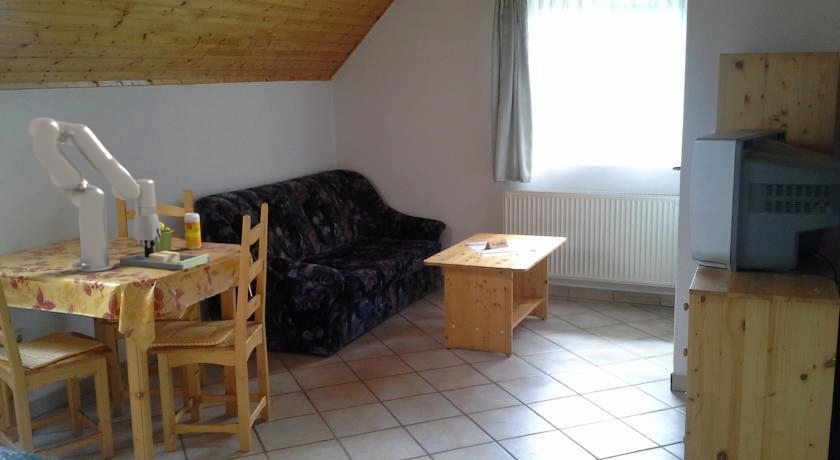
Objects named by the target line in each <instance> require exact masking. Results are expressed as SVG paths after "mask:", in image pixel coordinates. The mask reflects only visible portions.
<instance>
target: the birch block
mask: <svg viewBox="0 0 840 460" xmlns="http://www.w3.org/2000/svg"><path fill="white" fill-rule="evenodd" d="M180 254H181V253H180V252H177V251H171V250H170V251H162V252H158V253H153V254H149V260H148V261H155V262H165V263H175V264H178V262H180V261H181V260H180Z"/></svg>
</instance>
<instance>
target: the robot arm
mask: <svg viewBox="0 0 840 460" xmlns="http://www.w3.org/2000/svg"><path fill="white" fill-rule="evenodd" d="M28 133H29V134H30V136H31V137H32V138H33V139H32V145H33V146H32V148H33V154H35V157H36V158H37V160H38V161H39V162H40V164H41V165H42V166H43V167H44V169H46V170H47V171H48V173H49V179H50V180H51V183H52V184H53V185H54V186H55V187H56V189H57V190H58V191H60V193H62V194H63V195H64V196H65V197H66V198H67V200H69V202H71V203H72V204H73V205H74V206H75V207H77V208H78V209H79V210H78V211H79V212H78V229H79V238H80V240H79V241H80V249H81V258H79V260H78V261H77V262H74V263H73V262H72V264H71V267H72V268H73V269H78V271H79V272H85V273H87V272H89V273H93V272H103V271H108V270H111V269H114V268H115V264H114V262H110V251H109V238H108V227H107V224H108V223H107V207H108V206H107V195H106V194H105V192H104V191H103V190H102V188H100V187H98V186H96V185H93V184H90V183H89V182H88V181H87V180H86V179H85V175H84V172H83V171H82V170H81V168H80V167H79V166H78V165H77V164H76V163H75V162H74V161H72V159H71V158H70V157H69V156H68V155H67V154H66V153H65V151H64V150H63V149H62V148H61V145H64V146H71V147H73V148H74V149H75V150H76V152H78V153H79V155H80V156H81V157H82V158H83V160H84V161H85V162H86V163H87V164H88V166H89V167H90V168H91V169H92V170H93V171H94V172H96V173H97V174H99V175H100V176H101V177H104V179H106V180H107V181H108V182H109V183H110V184H111V191H110V192H111V194H112V195H113V197H115V198H116V199H119V200H122V201H125V202H135V203H134V204H135V207H134V211H135V214H134V217H133V224H132V225H133V239H135V240H136V242H138V243H141V245H142V247H143V249H144V253H145V257H147V258H149V254H153V253H154V252H155V250H154V248H155V247H154V246H155V244H156V243H159V242H160V239H159V238H160V237H161V231H160V223H159V222H160V219H159V216H158V214H157V206H156V205H157V202H156V191H155V190H156V189H155V188H156V187H155V181H154V180H153V179H150V178H145V179H143V178H140V179H136V180H135V178H133V177H132V175H131V174H130V173H129V171H127V169H126V168H125V167H124V166H123V165H122V164H120V163H119V162H118V160H117V159H116V158H115V157H114V156H113V155H112V154H111V153H110V152H109V151H108V150H107V148H106V147H105V146H104V144H103V143H102V142H101V140H100V139H99V138H98V137H97V136H96V134H95V133H94V132H93V130H92V129H91V128H89V126H87V125H85V124H82V123H74V122H73V123H71V122H66V121H60V120H56V119H54V118H50V117H35V118H34V119H32V120H31V121H30V122H29V125H28Z"/></svg>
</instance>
